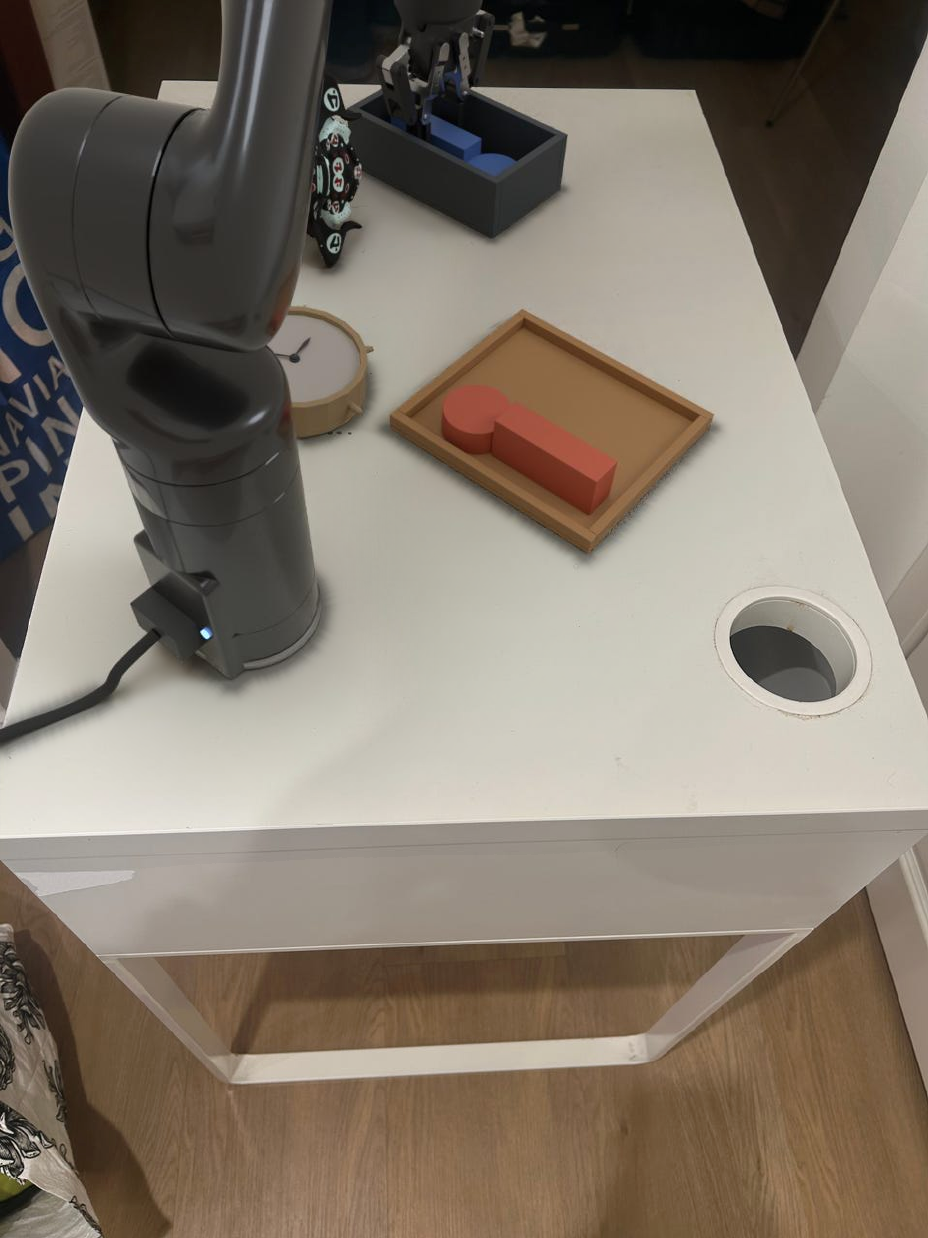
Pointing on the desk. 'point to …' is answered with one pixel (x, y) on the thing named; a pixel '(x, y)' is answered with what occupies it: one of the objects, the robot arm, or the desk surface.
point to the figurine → (333, 175)
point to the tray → (561, 420)
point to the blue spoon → (462, 145)
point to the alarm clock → (321, 369)
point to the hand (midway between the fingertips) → (435, 146)
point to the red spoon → (527, 445)
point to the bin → (454, 180)
